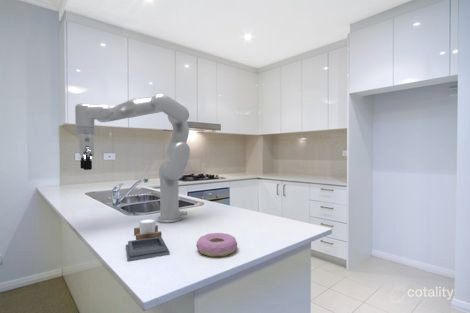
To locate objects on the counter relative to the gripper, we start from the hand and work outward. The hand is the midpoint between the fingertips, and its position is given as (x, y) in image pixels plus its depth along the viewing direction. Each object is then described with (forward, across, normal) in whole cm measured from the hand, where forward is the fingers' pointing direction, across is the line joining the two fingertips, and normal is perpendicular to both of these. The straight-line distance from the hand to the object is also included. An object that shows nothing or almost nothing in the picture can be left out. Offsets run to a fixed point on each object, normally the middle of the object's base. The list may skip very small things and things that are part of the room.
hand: (86, 169), depth 120 cm
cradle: (+29, -40, -14) cm, 51 cm away
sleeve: (+29, -25, -19) cm, 43 cm away
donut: (+30, -55, -36) cm, 72 cm away
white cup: (+29, -25, -19) cm, 43 cm away
